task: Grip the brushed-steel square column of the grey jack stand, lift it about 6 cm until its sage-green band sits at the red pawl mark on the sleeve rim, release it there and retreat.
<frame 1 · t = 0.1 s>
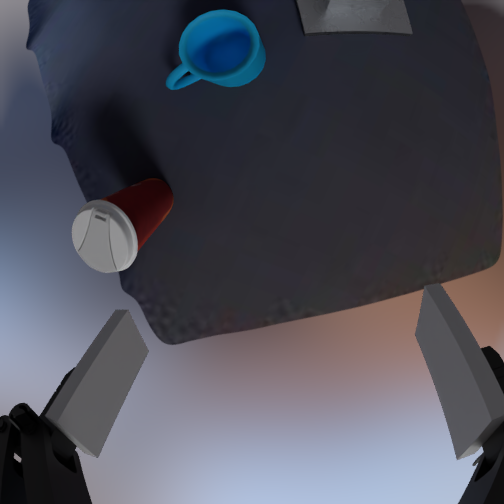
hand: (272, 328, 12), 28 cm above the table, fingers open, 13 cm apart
mug: (219, 64, 31), on the table
coffee cup: (155, 197, 40), on the table
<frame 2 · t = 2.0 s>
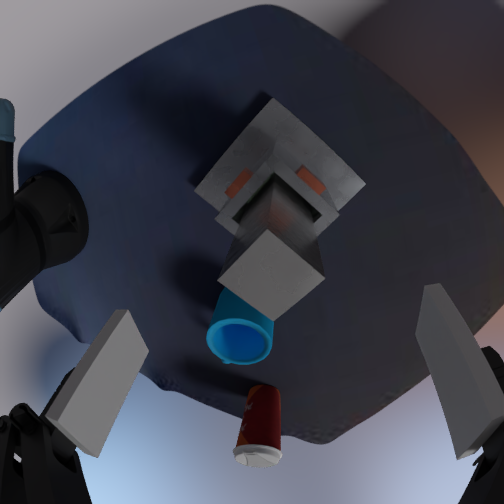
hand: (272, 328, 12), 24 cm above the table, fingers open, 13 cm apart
mug: (242, 312, 43), on the table
column: (276, 215, 24), point 11 cm above the table, slide at 0.0 cm
coffee cup: (264, 392, 52), on the table
stand base: (279, 182, 34), on the table
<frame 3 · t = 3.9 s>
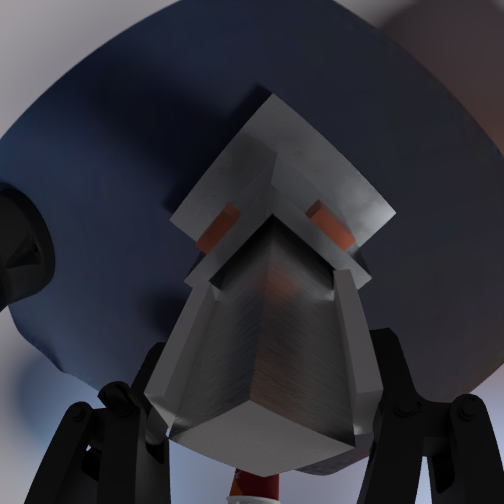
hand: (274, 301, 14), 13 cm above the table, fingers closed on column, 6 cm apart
column: (276, 278, 15), point 11 cm above the table, slide at 0.0 cm, touching gripper
coffee cup: (262, 433, 44), on the table
stand base: (281, 208, 25), on the table
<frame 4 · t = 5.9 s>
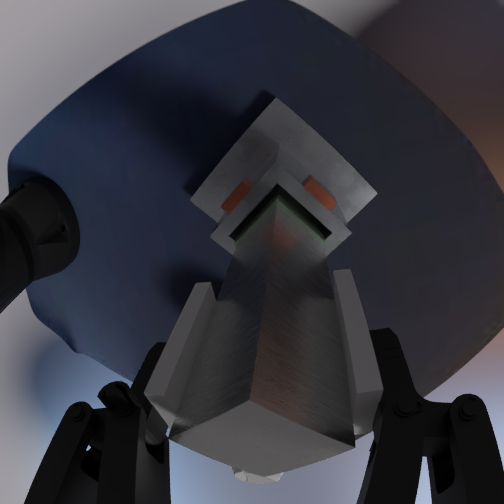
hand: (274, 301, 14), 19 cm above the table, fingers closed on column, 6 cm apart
column: (276, 278, 15), point 17 cm above the table, slide at 6.0 cm, touching gripper
coffee cup: (265, 406, 49), on the table
stand base: (283, 190, 31), on the table
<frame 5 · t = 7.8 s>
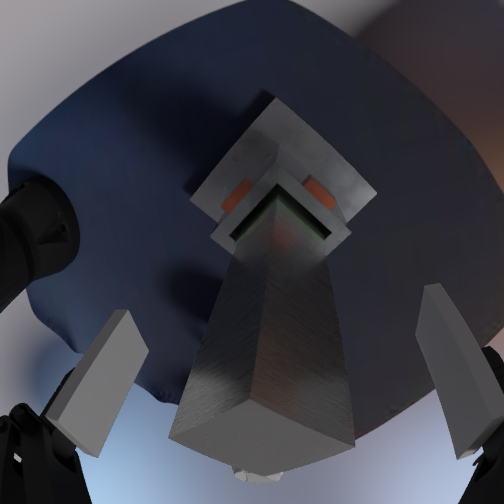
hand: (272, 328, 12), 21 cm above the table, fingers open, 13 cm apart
column: (276, 278, 15), point 17 cm above the table, slide at 6.0 cm
coffee cup: (265, 406, 49), on the table
stand base: (283, 190, 31), on the table
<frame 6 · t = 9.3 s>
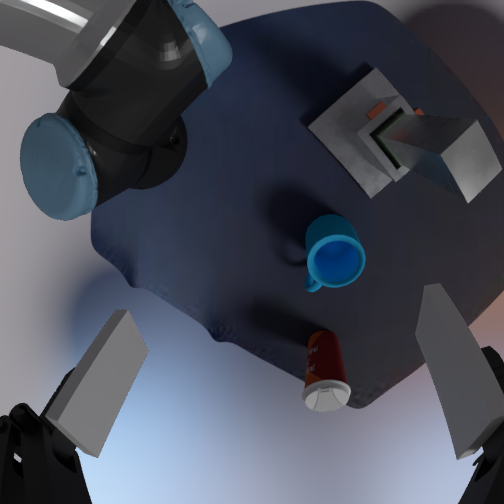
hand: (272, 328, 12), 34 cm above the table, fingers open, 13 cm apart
mug: (324, 247, 47), on the table
column: (419, 144, 22), point 17 cm above the table, slide at 6.0 cm
coffee cup: (323, 340, 56), on the table
stand base: (373, 132, 38), on the table
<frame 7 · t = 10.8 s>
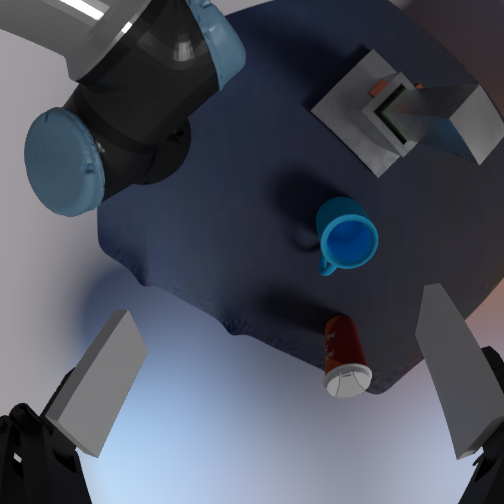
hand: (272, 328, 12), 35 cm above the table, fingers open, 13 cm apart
mug: (335, 230, 47), on the table
column: (424, 116, 22), point 17 cm above the table, slide at 6.0 cm
coffee cup: (339, 326, 55), on the table
stand base: (375, 112, 37), on the table
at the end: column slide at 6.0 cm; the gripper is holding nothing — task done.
